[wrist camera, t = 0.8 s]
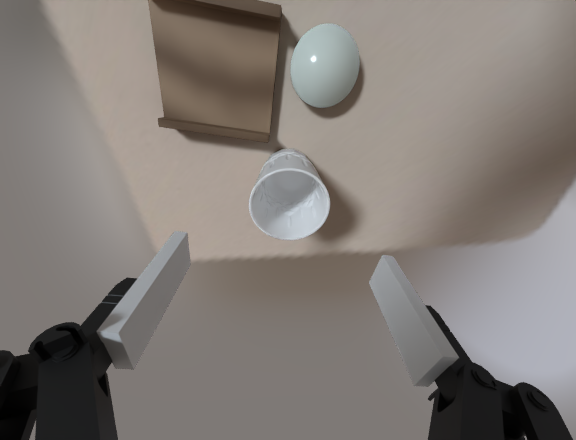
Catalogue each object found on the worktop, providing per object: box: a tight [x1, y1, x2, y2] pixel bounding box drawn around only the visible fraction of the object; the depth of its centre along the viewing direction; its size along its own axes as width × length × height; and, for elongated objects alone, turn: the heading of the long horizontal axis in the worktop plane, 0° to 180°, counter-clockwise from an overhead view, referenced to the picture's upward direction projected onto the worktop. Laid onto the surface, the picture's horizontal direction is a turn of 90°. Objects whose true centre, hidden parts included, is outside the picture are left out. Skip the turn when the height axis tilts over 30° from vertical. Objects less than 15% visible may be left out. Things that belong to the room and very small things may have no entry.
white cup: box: [249, 149, 330, 240], centre depth 25 cm, size 8×8×10 cm
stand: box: [148, 0, 282, 143], centre depth 22 cm, size 12×12×3 cm
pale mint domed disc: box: [290, 24, 360, 108], centre depth 23 cm, size 7×7×2 cm
